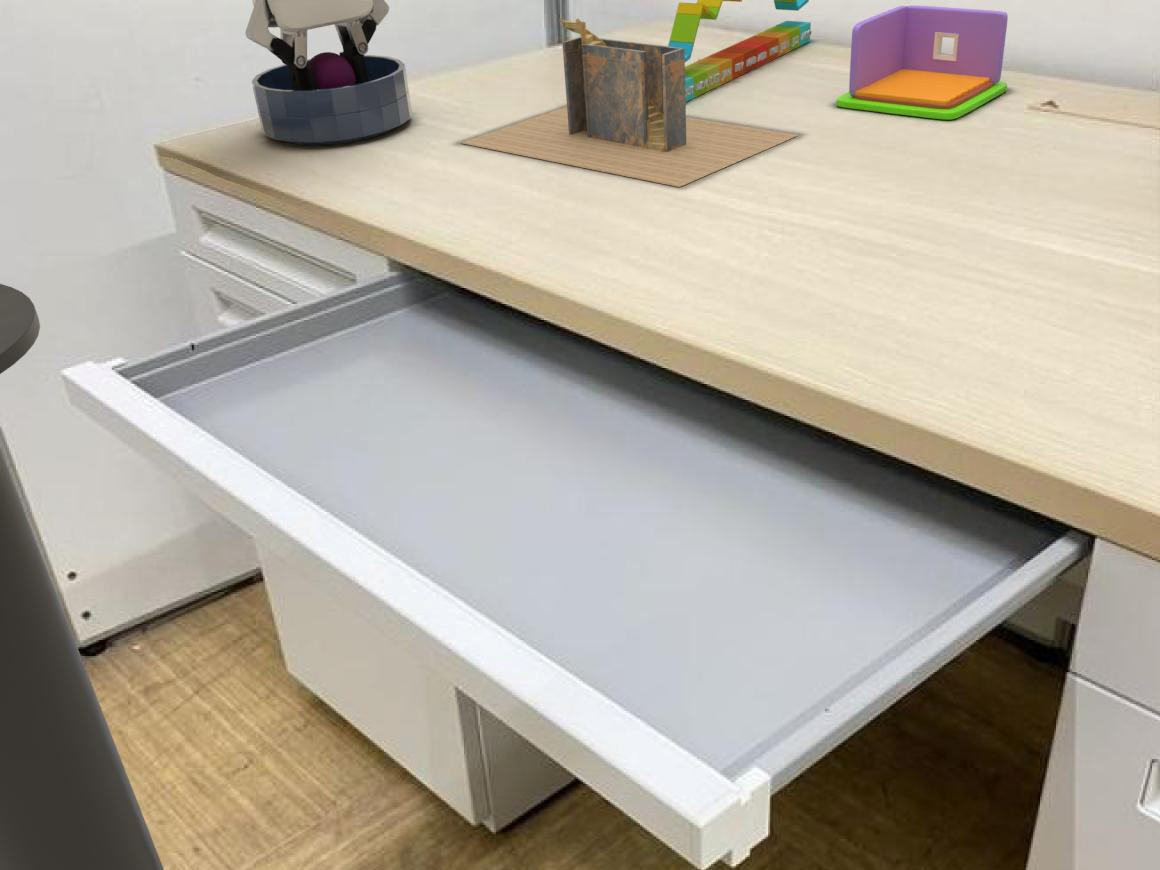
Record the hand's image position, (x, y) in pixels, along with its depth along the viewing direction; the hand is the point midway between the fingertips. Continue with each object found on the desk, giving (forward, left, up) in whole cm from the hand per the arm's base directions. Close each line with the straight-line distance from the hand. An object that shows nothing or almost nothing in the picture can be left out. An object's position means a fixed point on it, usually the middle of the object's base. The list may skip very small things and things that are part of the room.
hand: (333, 102), depth 116 cm
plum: (0, 0, +2) cm, 2 cm away
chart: (+40, -2, -3) cm, 40 cm away
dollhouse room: (+50, -21, -3) cm, 55 cm away
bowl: (0, 0, -2) cm, 2 cm away
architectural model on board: (+22, -19, -3) cm, 29 cm away
